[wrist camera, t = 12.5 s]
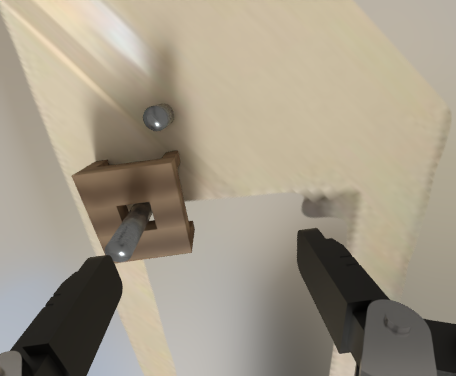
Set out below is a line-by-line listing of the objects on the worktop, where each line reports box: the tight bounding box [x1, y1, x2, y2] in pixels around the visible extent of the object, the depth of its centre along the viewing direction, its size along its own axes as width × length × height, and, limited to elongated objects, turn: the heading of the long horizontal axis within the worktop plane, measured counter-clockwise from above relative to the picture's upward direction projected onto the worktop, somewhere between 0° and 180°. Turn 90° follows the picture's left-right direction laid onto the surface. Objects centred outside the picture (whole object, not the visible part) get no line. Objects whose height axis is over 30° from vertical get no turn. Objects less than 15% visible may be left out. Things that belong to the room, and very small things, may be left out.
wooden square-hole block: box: [72, 151, 195, 263], centre depth 38 cm, size 16×14×7 cm
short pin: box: [143, 104, 174, 131], centre depth 33 cm, size 3×3×6 cm
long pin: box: [105, 202, 153, 262], centre depth 34 cm, size 3×3×15 cm
